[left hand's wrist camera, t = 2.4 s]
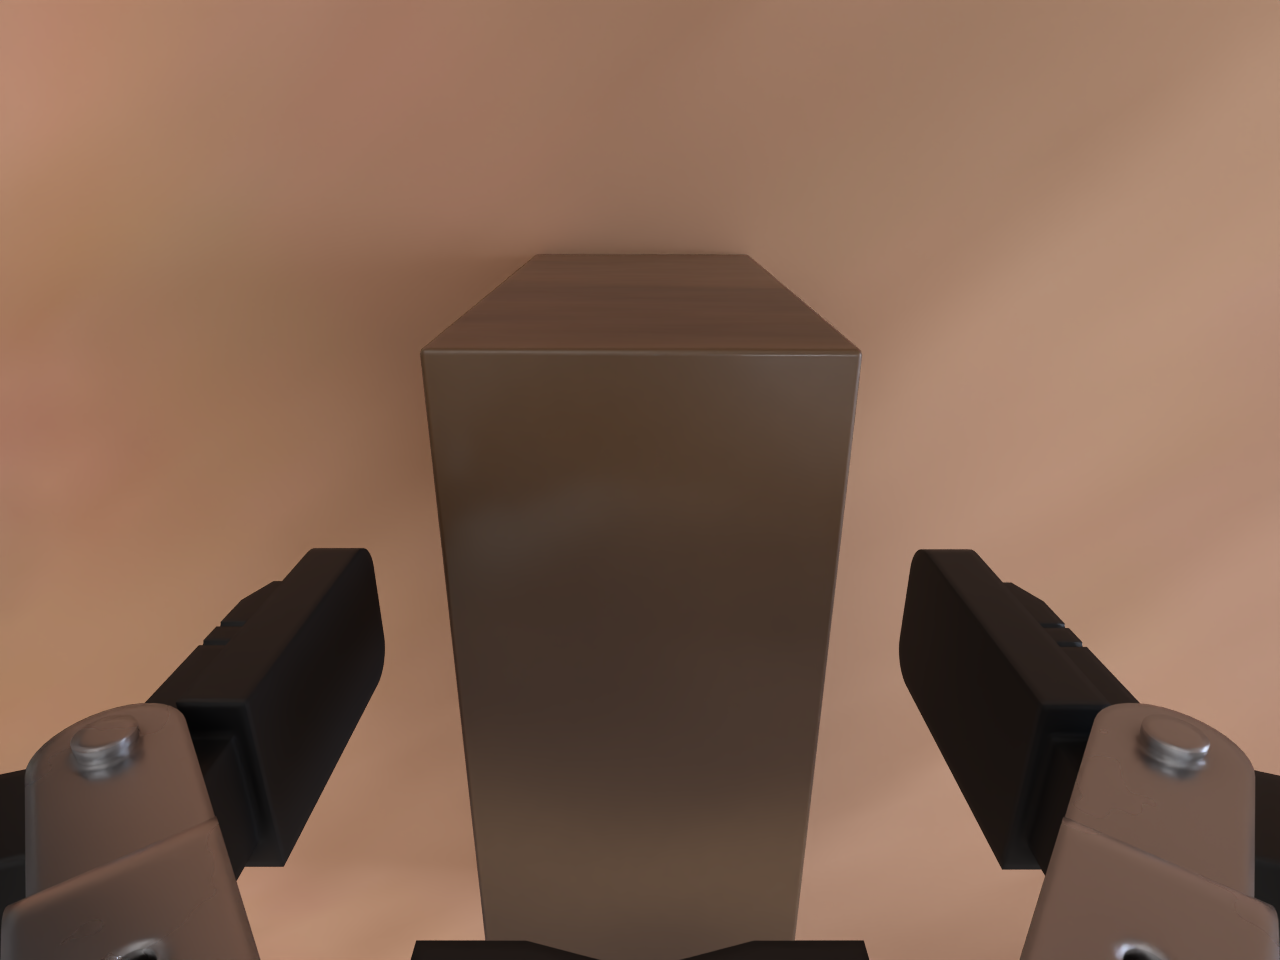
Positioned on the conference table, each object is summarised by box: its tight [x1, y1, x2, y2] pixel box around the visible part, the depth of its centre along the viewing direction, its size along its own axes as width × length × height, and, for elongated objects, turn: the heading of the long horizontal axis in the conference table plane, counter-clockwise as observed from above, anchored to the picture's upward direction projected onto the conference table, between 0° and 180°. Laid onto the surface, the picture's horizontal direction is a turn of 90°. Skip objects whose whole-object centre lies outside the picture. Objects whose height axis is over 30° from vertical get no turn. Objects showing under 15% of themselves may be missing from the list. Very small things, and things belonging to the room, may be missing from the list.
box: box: [420, 255, 862, 960], centre depth 20 cm, size 24×6×12 cm, turn 0°
